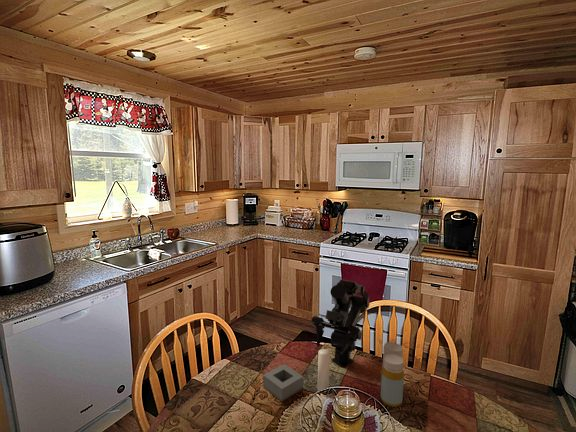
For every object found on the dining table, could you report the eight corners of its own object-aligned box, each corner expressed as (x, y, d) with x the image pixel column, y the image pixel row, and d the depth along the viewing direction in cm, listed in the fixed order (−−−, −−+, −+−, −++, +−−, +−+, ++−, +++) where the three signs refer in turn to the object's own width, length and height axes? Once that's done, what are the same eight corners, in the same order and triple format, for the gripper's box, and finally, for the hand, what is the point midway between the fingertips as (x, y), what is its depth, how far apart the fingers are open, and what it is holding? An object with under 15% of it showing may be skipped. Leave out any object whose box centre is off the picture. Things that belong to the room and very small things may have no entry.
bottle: (403, 409, 103) (406, 366, 101) (381, 406, 105) (383, 363, 103) (400, 395, 110) (403, 354, 108) (379, 392, 111) (381, 352, 109)
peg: (322, 384, 115) (323, 347, 113) (331, 389, 112) (332, 352, 110) (314, 389, 112) (316, 351, 111) (323, 394, 109) (324, 356, 108)
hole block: (283, 375, 120) (284, 363, 119) (302, 388, 112) (303, 376, 112) (263, 386, 113) (263, 374, 112) (281, 401, 106) (282, 389, 105)
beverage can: (404, 388, 114) (407, 348, 112) (391, 394, 110) (394, 353, 109) (390, 377, 119) (392, 340, 117) (377, 383, 116) (379, 344, 114)
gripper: (313, 295, 122) (299, 335, 114) (361, 306, 113) (349, 350, 104) (321, 308, 130) (308, 345, 121) (366, 319, 120) (355, 360, 112)
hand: (329, 350), depth 115 cm, fingers open, 9 cm apart
